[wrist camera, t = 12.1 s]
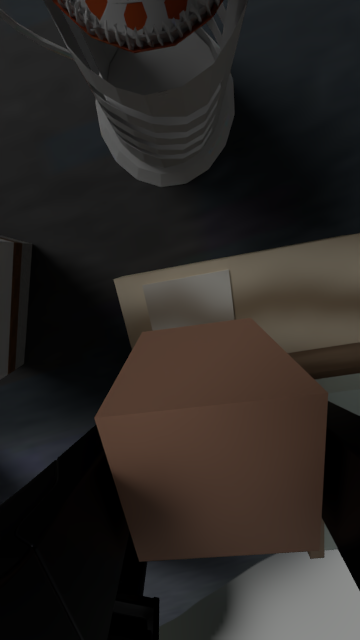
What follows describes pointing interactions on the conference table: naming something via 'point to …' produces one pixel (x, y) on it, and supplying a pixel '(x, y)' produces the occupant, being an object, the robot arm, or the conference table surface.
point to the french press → (155, 79)
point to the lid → (355, 397)
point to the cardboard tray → (262, 299)
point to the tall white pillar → (13, 302)
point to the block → (216, 444)
